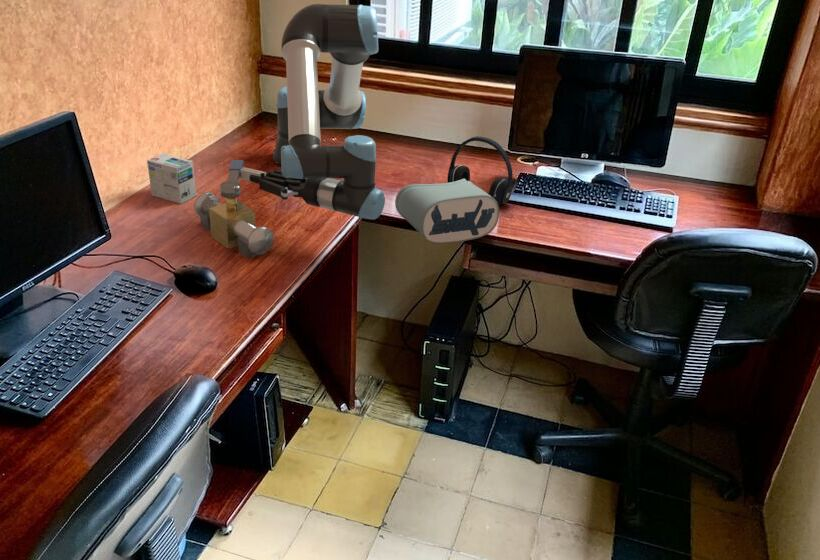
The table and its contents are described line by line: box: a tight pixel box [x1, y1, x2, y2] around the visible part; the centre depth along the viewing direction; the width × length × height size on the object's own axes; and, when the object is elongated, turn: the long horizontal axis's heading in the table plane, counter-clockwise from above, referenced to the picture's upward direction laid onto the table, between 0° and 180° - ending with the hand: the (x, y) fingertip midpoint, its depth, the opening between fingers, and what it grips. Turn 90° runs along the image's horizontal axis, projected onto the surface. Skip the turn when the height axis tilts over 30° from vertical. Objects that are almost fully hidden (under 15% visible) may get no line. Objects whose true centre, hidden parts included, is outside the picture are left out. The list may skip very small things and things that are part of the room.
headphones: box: [447, 136, 514, 206], centre depth 213 cm, size 20×7×18 cm, turn 55°
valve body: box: [193, 191, 275, 259], centre depth 183 cm, size 26×8×12 cm, turn 44°
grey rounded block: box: [394, 179, 500, 245], centre depth 195 cm, size 22×19×13 cm
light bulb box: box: [146, 152, 197, 205], centre depth 202 cm, size 11×7×11 cm, turn 65°
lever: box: [219, 159, 245, 199], centre depth 185 cm, size 19×5×2 cm, turn 5°
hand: (242, 173), depth 188 cm, fingers closed
